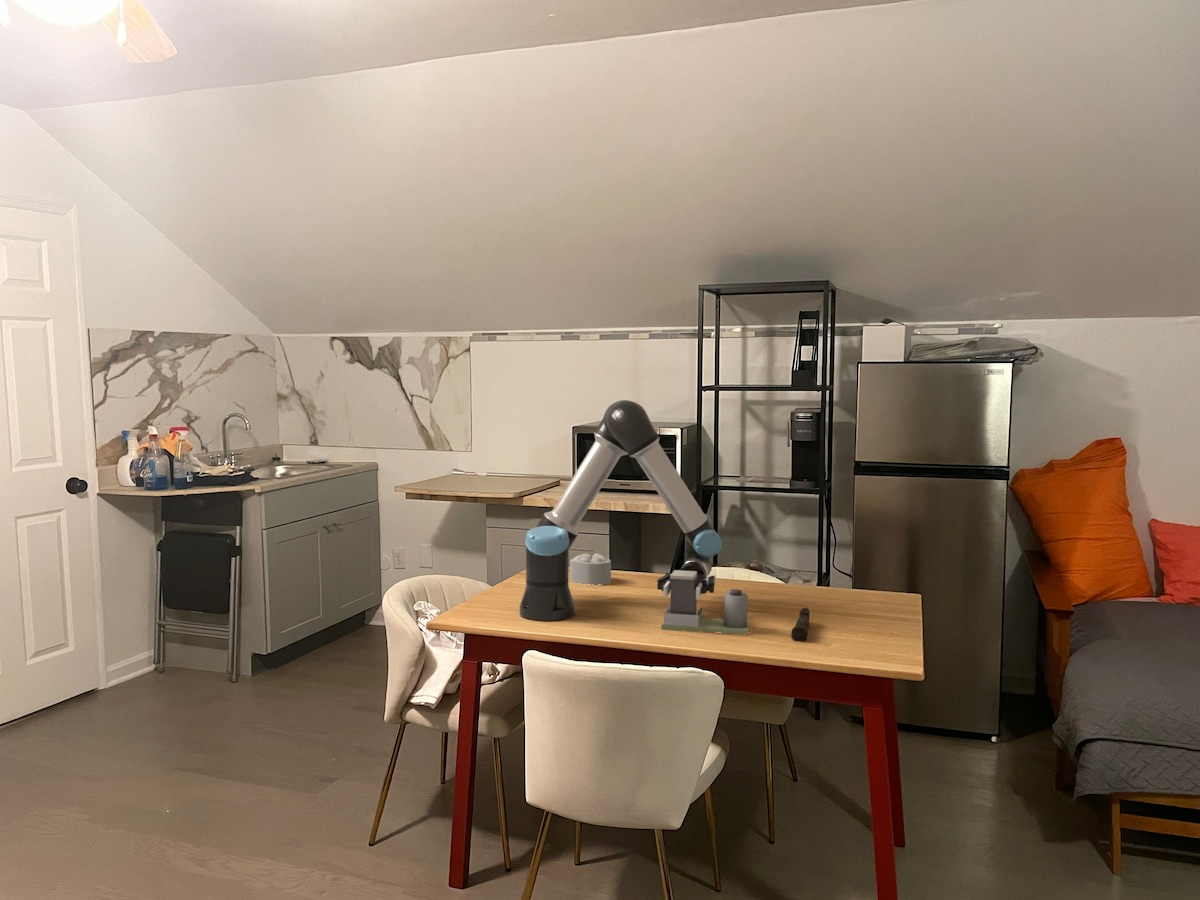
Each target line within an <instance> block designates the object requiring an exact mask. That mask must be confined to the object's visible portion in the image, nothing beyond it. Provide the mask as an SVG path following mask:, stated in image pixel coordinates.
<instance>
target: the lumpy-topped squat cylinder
mask: <svg viewBox="0 0 1200 900" xmlns="http://www.w3.org/2000/svg"><path fill="white" fill-rule="evenodd" d="M569 560H570V561H569V563H570V565H569V567H570V568H569V570H570V571H569V573H570V574H569V582H570V581H571V582H575V583H581V584H591V585H592V584H593V585H598V584H609V583H611V584H612V561H611V559H610V558H607V557H605V556H604V555H602V554H601V553H594V554H593V555H591V554H589V553H582V554H579V555H575V557H573V558H571V559H569ZM571 582H570V583H571ZM575 583H574V584H575ZM581 584H580V585H581ZM609 585H610V584H609Z"/></svg>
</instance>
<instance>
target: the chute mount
mask: <svg viewBox="0 0 1200 900" xmlns="http://www.w3.org/2000/svg"><path fill="white" fill-rule="evenodd" d="M670 606H671V604H670V605H668V606H667V607H666V609H665V610H664V612H663V622H664V625H675V626H689V627H699V625H700V623H701V621H702V619H703V618H704V617H703V615H704V614H703V613H704V612H703V607H702V606H701V607H700V608H699V610H698V612H697V613H696V615H690V614H675V613H670Z"/></svg>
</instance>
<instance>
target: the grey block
mask: <svg viewBox="0 0 1200 900" xmlns="http://www.w3.org/2000/svg"><path fill="white" fill-rule="evenodd" d="M670 574H671V575H670V579H671V589H670V605H671V606H670V613H675V614H690V615H697V607H698V605H697V603H698V602H697V600H698V599H696V588H697V571H681V570H680V569H677V570H676V569H674V570H673V571H672V573H670Z"/></svg>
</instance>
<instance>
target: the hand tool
mask: <svg viewBox="0 0 1200 900" xmlns="http://www.w3.org/2000/svg"><path fill="white" fill-rule="evenodd" d="M810 615H811V613H810V609H809V608H808V607H802V608H801V610H800V611H799V613H798V618H797V621H796V624H795V625H794V626H793V627H792V629H791V634H790V635H791V636H790V638H791V639H792V640H793V642H799V641H800V642H801V643H802V642H806V641H807V639H808V635H809V628H810V620H811V617H810Z"/></svg>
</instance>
